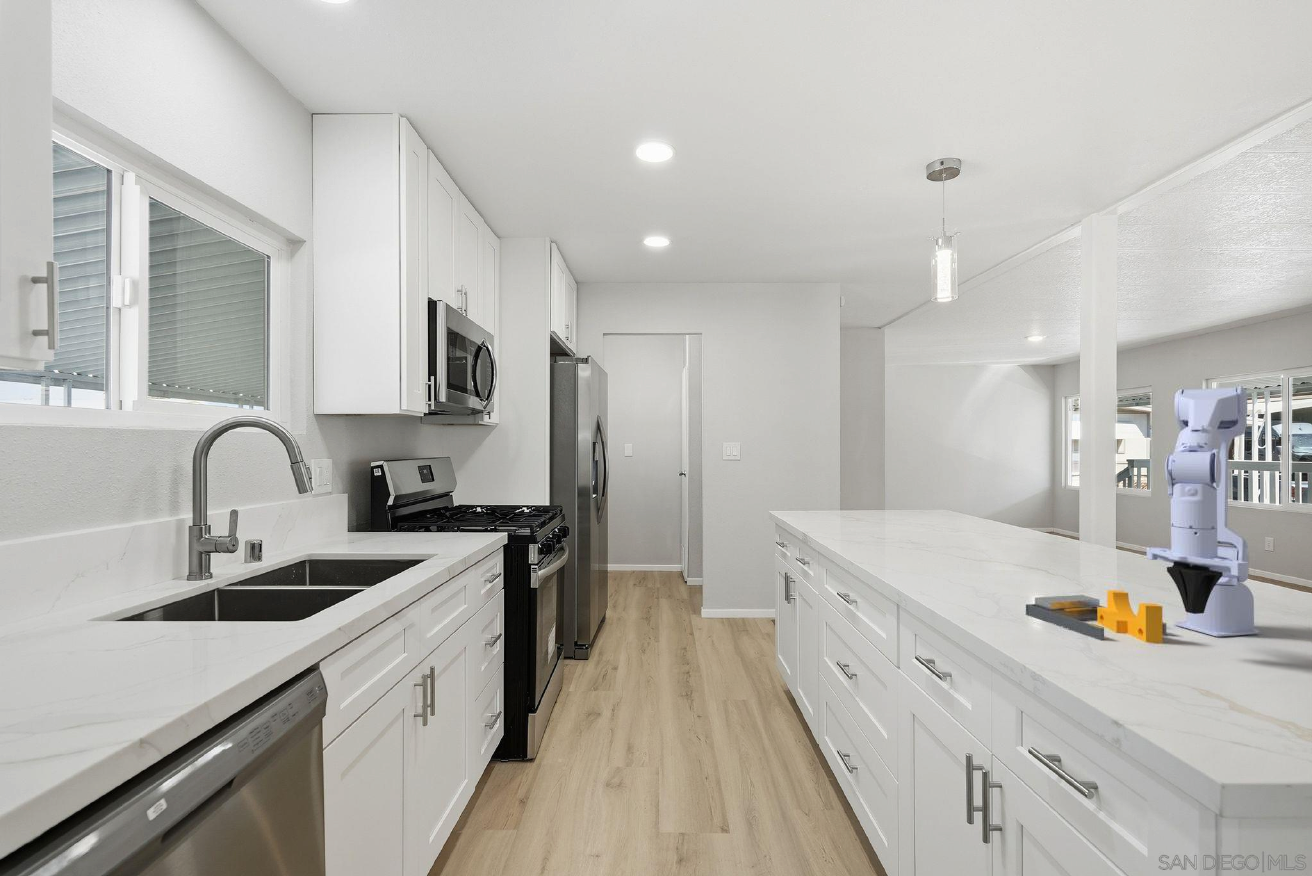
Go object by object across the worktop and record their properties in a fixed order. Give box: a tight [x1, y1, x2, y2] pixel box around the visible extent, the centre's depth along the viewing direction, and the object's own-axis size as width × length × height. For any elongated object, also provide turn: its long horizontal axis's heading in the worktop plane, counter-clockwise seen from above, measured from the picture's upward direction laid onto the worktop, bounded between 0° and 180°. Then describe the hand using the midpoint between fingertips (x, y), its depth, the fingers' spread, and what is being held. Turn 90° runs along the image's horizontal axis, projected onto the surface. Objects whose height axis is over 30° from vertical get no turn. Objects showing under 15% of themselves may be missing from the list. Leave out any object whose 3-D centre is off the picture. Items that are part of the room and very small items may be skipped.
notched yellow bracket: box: [1096, 589, 1164, 644], centre depth 117 cm, size 12×4×6 cm, turn 172°
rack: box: [1025, 594, 1168, 641], centre depth 122 cm, size 14×17×4 cm
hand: (1194, 612), depth 103 cm, fingers closed
